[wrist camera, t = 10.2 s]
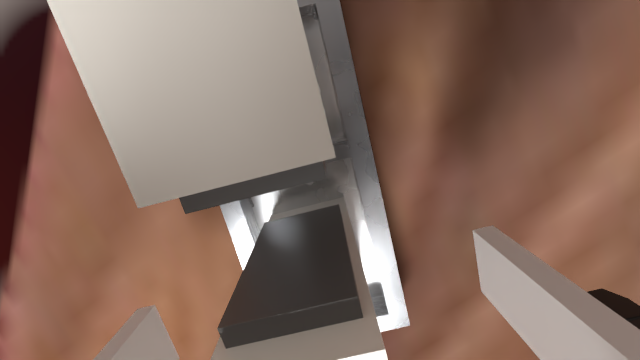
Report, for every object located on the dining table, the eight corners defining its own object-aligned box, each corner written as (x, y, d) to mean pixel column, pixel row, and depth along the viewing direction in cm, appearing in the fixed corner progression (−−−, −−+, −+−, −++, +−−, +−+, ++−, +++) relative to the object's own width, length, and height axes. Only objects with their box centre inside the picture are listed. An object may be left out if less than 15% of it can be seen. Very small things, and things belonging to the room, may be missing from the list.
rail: (172, 23, 14) (147, 9, 12) (328, -23, 14) (331, -46, 12) (280, 332, 19) (276, 362, 16) (401, 305, 18) (412, 332, 16)
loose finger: (293, 286, 17) (262, 529, 7) (267, 204, 16) (187, 367, 6) (362, 270, 17) (422, 499, 7) (341, 186, 16) (378, 324, 6)
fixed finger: (301, 29, 14) (265, -126, 5) (327, 133, 15) (343, 187, 6) (221, 51, 14) (25, -50, 5) (253, 152, 16) (149, 235, 6)
